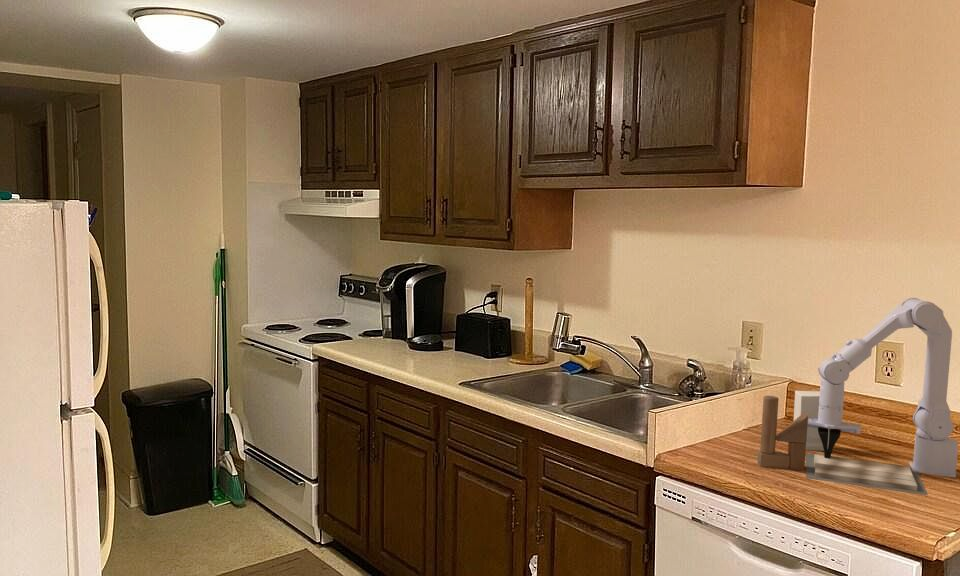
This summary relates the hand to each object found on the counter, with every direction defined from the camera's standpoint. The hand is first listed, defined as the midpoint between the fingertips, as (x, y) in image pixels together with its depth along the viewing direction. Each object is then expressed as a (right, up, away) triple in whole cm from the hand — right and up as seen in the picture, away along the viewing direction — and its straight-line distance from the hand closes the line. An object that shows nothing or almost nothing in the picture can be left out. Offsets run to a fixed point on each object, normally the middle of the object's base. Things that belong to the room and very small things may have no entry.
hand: (827, 456), depth 205 cm
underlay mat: (+5, -3, -8) cm, 10 cm away
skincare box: (+1, -1, +13) cm, 13 cm away
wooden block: (-14, -2, -4) cm, 15 cm away
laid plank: (+3, -3, -13) cm, 13 cm away
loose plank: (+6, -2, -5) cm, 8 cm away
